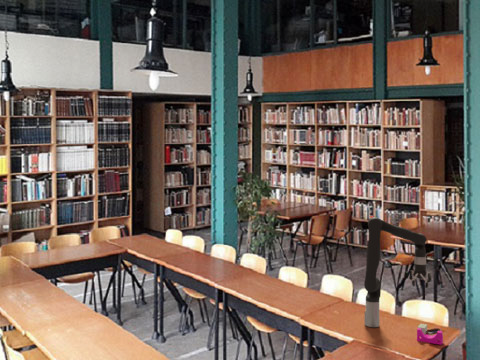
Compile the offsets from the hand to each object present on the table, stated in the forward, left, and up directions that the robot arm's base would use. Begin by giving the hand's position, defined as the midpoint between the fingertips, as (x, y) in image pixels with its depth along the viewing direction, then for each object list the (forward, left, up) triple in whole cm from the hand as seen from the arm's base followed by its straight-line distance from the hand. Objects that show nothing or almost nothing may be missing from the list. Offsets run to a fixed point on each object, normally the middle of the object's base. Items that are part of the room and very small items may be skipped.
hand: (420, 286), depth 369 cm
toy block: (+13, -16, -30) cm, 37 cm away
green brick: (+3, -3, -25) cm, 26 cm away
